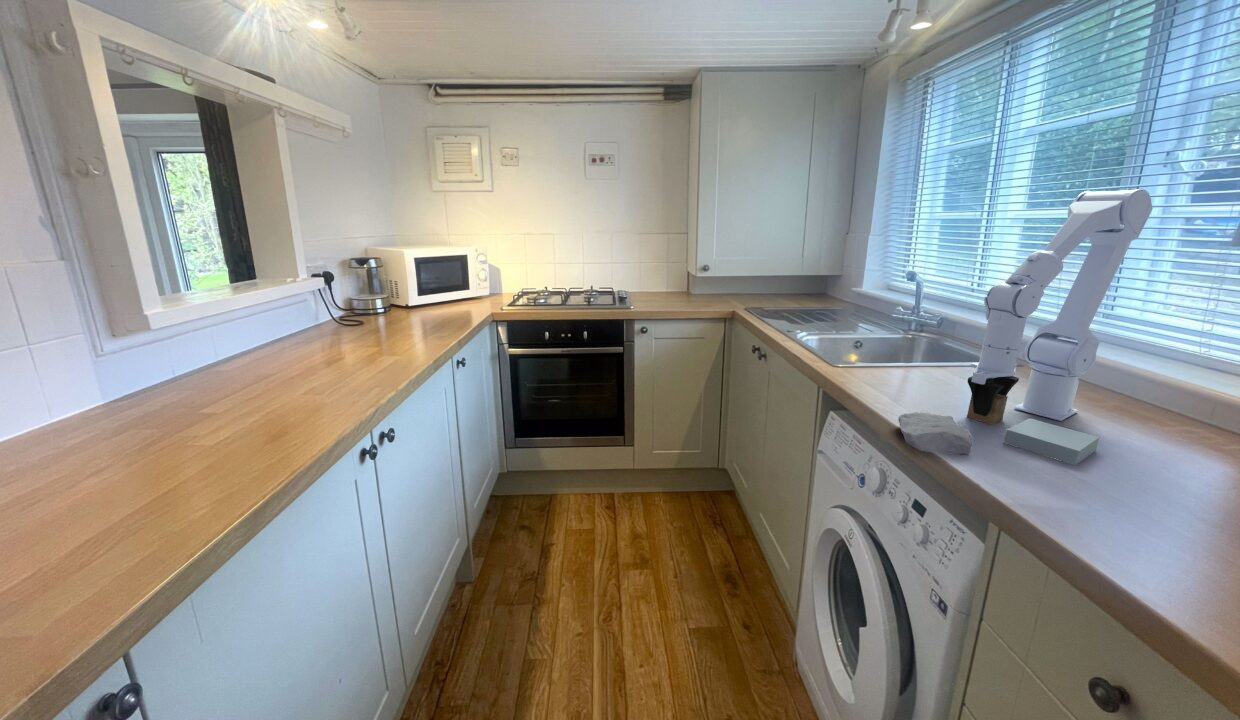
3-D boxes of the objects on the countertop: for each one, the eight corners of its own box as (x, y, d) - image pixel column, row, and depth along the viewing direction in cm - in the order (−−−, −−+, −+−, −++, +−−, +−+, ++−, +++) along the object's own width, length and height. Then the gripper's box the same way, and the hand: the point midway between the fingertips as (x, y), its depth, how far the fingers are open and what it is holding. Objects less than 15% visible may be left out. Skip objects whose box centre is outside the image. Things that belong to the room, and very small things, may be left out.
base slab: (1025, 432, 95) (1029, 418, 94) (1094, 453, 87) (1099, 437, 86) (1003, 444, 89) (1006, 429, 89) (1074, 467, 81) (1079, 450, 81)
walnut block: (976, 412, 103) (982, 389, 102) (1002, 419, 100) (1007, 396, 98) (966, 417, 101) (971, 393, 99) (992, 424, 97) (997, 400, 96)
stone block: (912, 461, 86) (977, 456, 84) (910, 435, 85) (976, 429, 83) (890, 435, 97) (948, 430, 95) (889, 412, 96) (946, 407, 94)
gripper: (993, 337, 103) (979, 399, 107) (960, 346, 95) (946, 412, 99) (1035, 344, 97) (1019, 409, 101) (1003, 354, 90) (987, 424, 93)
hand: (985, 411), depth 100 cm, fingers closed on walnut block, 4 cm apart
